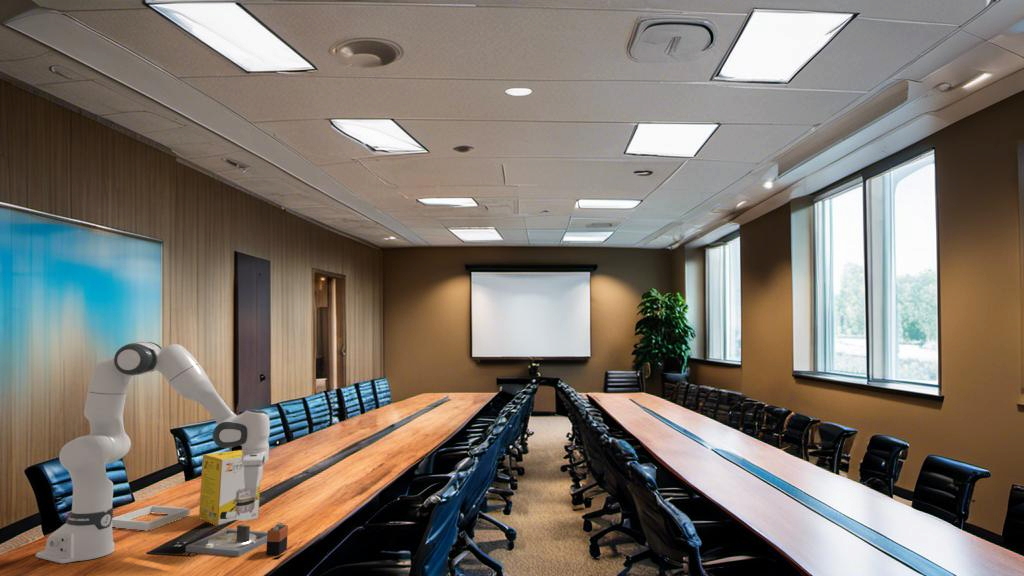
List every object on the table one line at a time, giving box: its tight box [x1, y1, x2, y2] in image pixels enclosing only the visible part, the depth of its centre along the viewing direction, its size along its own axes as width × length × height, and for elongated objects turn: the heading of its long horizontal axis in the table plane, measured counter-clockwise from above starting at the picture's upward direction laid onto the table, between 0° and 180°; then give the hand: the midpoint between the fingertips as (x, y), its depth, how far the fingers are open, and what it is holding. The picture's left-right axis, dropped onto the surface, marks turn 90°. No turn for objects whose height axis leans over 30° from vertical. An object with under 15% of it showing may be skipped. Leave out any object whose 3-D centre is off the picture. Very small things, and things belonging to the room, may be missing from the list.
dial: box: [208, 524, 257, 549], centre depth 207 cm, size 15×15×7 cm
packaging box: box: [198, 449, 261, 527], centre depth 243 cm, size 16×16×25 cm
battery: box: [265, 522, 289, 560], centre depth 200 cm, size 4×7×10 cm, turn 178°
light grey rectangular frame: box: [111, 505, 191, 531], centre depth 236 cm, size 18×21×3 cm
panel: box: [185, 528, 267, 558], centre depth 207 cm, size 20×20×4 cm
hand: (253, 496), depth 211 cm, fingers closed
